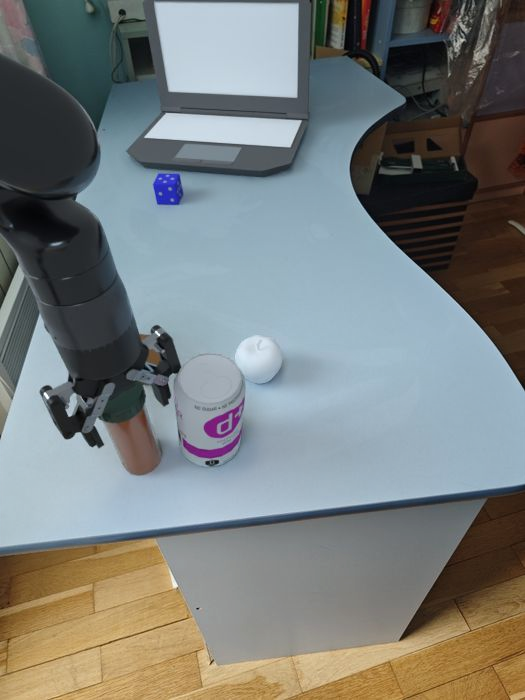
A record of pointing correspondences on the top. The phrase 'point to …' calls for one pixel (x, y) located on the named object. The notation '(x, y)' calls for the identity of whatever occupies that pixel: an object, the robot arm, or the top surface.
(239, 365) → the plain white apple
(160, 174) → the die
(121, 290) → the robot arm
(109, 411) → the lid
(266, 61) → the laptop
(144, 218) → the top surface
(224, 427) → the supplement can
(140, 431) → the jar
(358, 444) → the top surface
